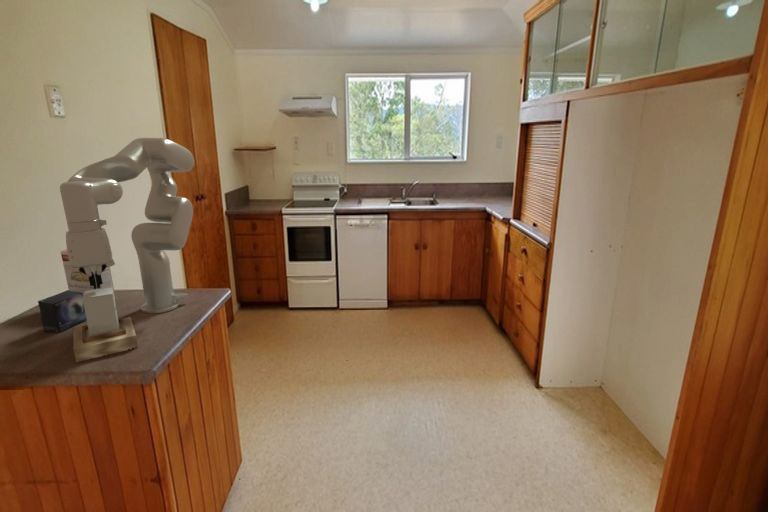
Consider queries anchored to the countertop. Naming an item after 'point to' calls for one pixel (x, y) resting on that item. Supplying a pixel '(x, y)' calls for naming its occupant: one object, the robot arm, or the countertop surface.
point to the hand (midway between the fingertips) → (97, 287)
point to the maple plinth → (104, 341)
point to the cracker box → (84, 277)
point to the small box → (62, 311)
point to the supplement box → (100, 311)
